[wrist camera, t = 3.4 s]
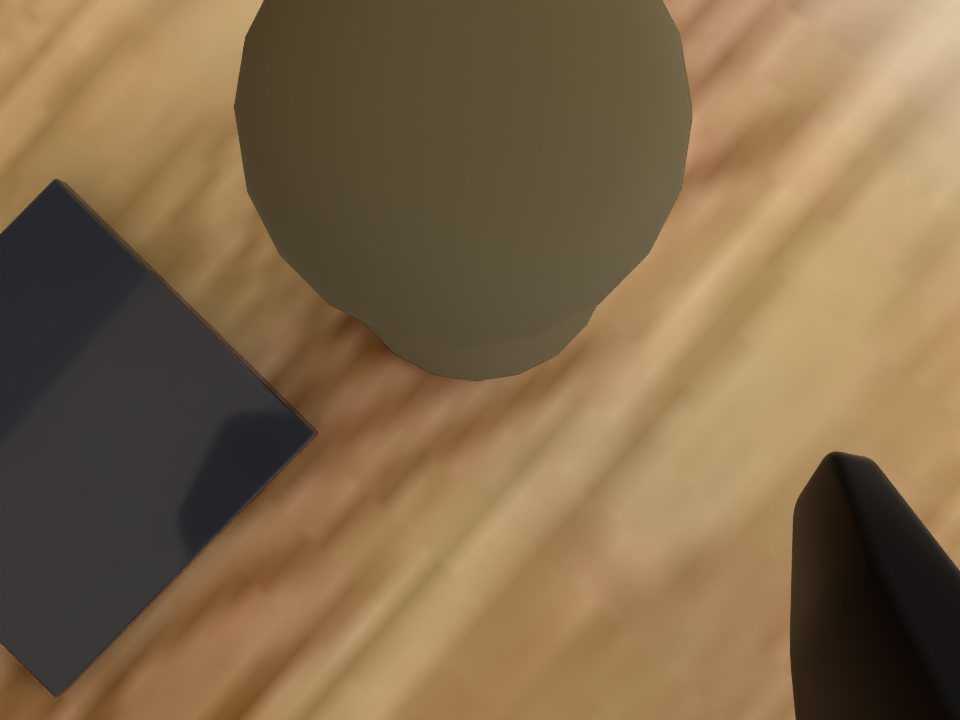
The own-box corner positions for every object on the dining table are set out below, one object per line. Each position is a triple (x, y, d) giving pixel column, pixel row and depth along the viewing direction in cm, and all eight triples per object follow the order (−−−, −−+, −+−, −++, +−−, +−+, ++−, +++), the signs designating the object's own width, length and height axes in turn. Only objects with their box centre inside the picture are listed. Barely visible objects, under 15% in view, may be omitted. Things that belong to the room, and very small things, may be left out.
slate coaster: (66, 691, 19) (55, 699, 19) (-187, 437, 20) (-204, 439, 19) (319, 432, 20) (315, 433, 19) (65, 182, 20) (54, 176, 19)
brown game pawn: (666, 214, 20) (894, 3, 9) (506, 435, 19) (528, 511, 8) (445, 56, 20) (390, -351, 9) (286, 275, 20) (26, 146, 9)
